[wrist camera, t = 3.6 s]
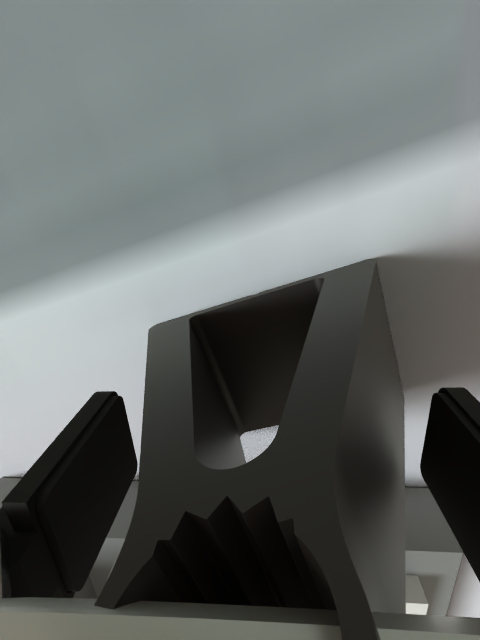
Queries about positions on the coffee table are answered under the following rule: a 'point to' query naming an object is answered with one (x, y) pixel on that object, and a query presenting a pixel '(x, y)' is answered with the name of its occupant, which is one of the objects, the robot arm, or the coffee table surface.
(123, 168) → the coffee table surface
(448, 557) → the grey bracket with tile
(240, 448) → the phone stand
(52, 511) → the robot arm
